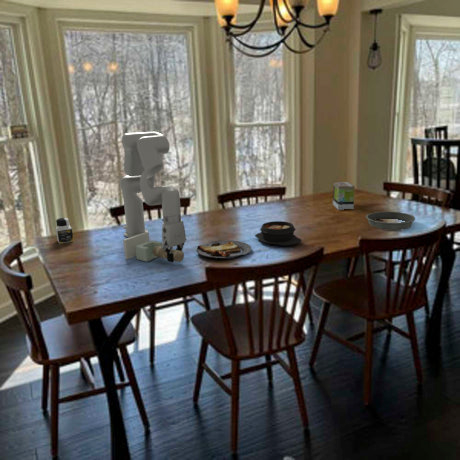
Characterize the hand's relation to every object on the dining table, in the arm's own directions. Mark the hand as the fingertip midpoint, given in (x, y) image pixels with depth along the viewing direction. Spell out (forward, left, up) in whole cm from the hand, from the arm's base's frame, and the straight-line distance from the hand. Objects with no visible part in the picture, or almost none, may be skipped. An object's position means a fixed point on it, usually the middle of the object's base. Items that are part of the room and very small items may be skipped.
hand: (175, 259), depth 193 cm
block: (-16, 0, -2) cm, 16 cm away
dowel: (-4, 0, -1) cm, 4 cm away
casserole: (+22, +49, -2) cm, 54 cm away
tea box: (+21, +129, -2) cm, 131 cm away
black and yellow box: (-73, -5, -2) cm, 74 cm away
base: (-24, 0, -2) cm, 24 cm away
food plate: (+9, +23, -3) cm, 25 cm away
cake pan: (+58, +104, -3) cm, 119 cm away
